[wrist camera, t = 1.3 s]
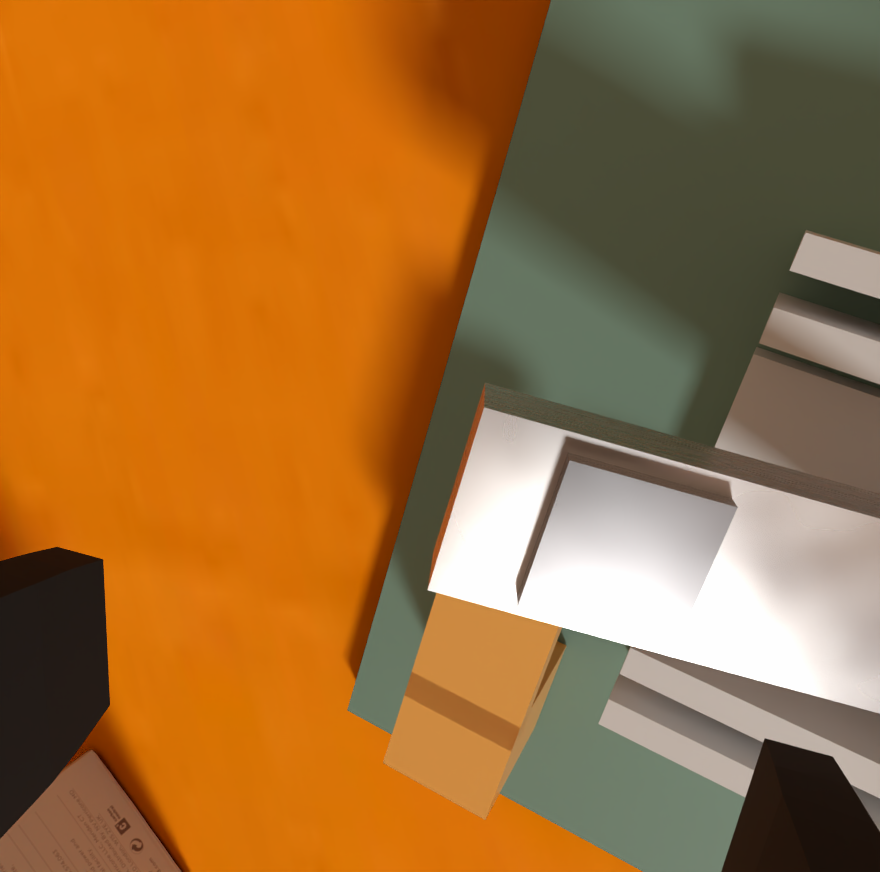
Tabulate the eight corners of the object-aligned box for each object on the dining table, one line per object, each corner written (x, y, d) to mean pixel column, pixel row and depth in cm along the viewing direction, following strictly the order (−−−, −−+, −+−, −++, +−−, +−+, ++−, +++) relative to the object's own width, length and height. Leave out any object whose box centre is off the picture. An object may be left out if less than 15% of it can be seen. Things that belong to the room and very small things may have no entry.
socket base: (1900, 112, 11) (2508, 54, 7) (1086, 1083, 18) (1163, 1325, 14) (603, -132, 16) (537, -244, 12) (361, 694, 23) (270, 792, 19)
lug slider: (446, 681, 21) (383, 763, 18) (505, 505, 19) (446, 562, 16) (534, 727, 20) (485, 820, 17) (604, 549, 18) (563, 616, 15)
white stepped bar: (1286, 609, 13) (1381, 666, 12) (1177, 756, 14) (1252, 826, 13) (485, 382, 13) (484, 414, 11) (433, 552, 14) (425, 600, 12)
